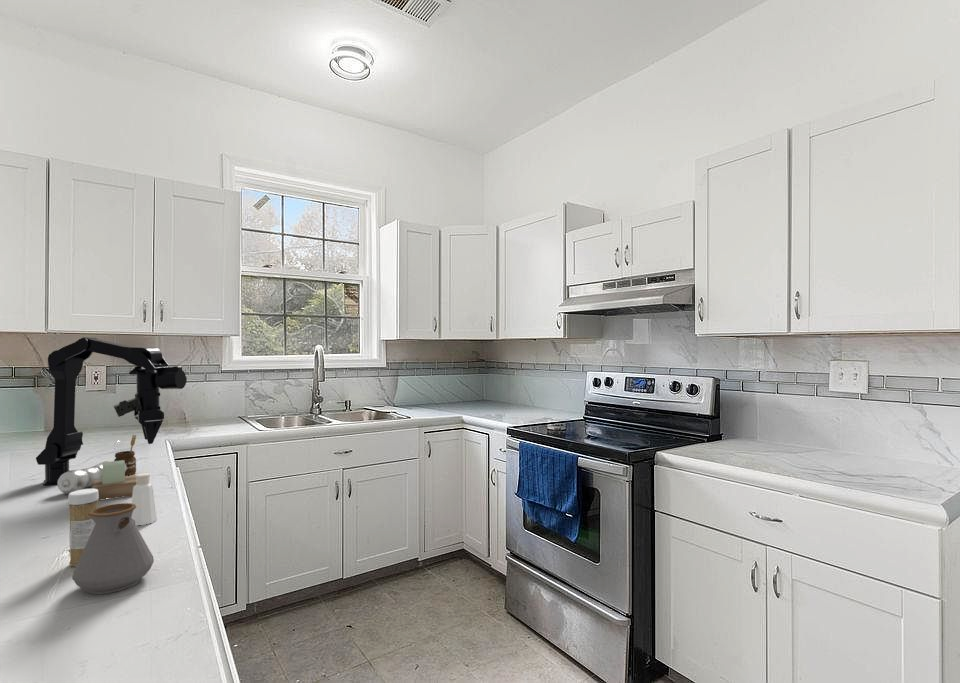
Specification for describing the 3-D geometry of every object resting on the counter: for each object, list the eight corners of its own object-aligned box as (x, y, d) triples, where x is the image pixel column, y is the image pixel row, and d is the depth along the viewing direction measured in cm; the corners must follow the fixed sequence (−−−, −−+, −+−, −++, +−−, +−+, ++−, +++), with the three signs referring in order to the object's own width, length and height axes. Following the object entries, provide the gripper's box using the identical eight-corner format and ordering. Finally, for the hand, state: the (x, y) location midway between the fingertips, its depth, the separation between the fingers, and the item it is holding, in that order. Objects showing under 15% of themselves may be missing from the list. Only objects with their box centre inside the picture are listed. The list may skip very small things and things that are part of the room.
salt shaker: (162, 519, 124) (162, 472, 124) (141, 527, 119) (140, 478, 119) (145, 517, 126) (144, 470, 126) (123, 524, 121) (122, 476, 121)
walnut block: (94, 494, 148) (94, 479, 148) (137, 488, 154) (137, 474, 154) (91, 503, 140) (91, 487, 140) (137, 496, 145) (137, 481, 145)
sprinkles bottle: (79, 558, 102) (78, 488, 102) (104, 557, 103) (103, 487, 103) (63, 568, 98) (62, 495, 98) (89, 567, 98) (88, 494, 98)
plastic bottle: (74, 471, 145) (130, 456, 165) (52, 473, 145) (110, 457, 165) (76, 495, 145) (132, 477, 164) (53, 496, 145) (111, 478, 165)
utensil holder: (109, 475, 167) (108, 437, 167) (129, 471, 173) (128, 434, 173) (121, 477, 165) (121, 438, 165) (141, 472, 171) (141, 435, 171)
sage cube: (124, 477, 150) (124, 460, 150) (125, 481, 146) (124, 463, 146) (102, 480, 147) (102, 462, 147) (102, 484, 143) (102, 465, 143)
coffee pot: (70, 582, 92) (69, 495, 92) (148, 563, 99) (146, 483, 99) (79, 633, 75) (78, 527, 75) (171, 606, 83) (170, 509, 83)
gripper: (113, 389, 162) (114, 440, 162) (117, 393, 147) (118, 450, 147) (156, 386, 169) (157, 436, 169) (163, 390, 154) (164, 444, 154)
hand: (148, 441), depth 159 cm, fingers open, 9 cm apart
